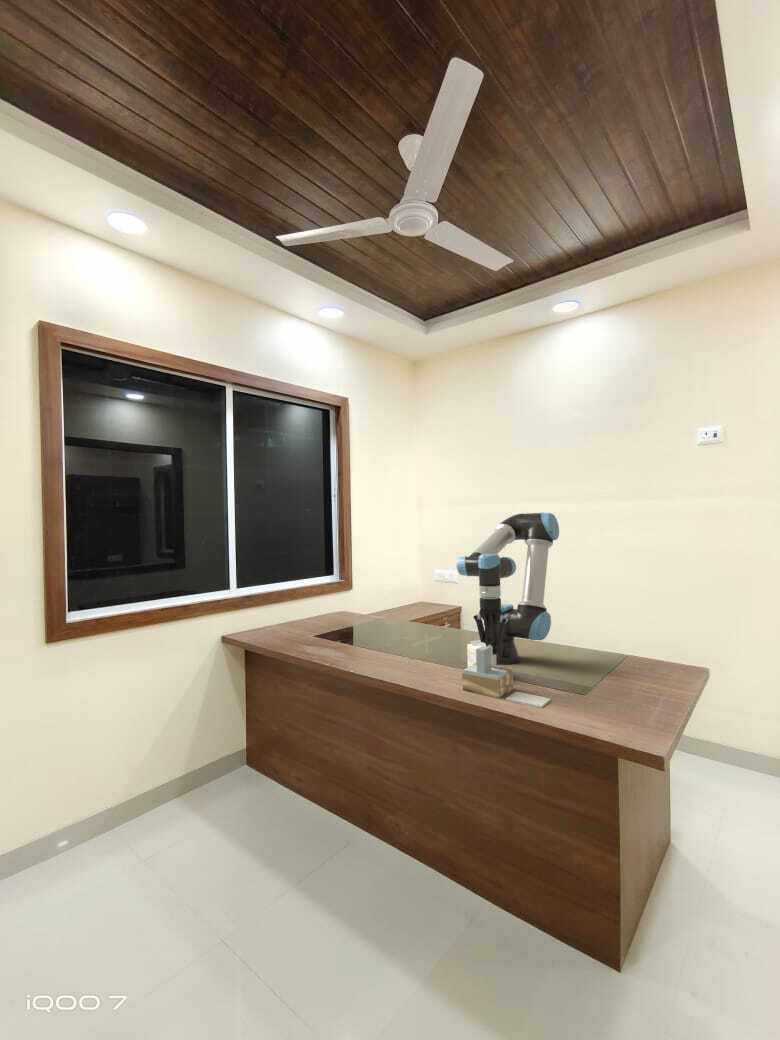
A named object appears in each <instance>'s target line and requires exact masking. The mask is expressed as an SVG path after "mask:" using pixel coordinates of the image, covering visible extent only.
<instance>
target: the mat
mask: <svg viewBox="0 0 780 1040" xmlns="http://www.w3.org/2000/svg"><path fill="white" fill-rule="evenodd" d="M505 700H506V701H509V702H513V703H516V704H517V703H518V704H523V705H526V706H530V707H535V708H539V709H542V708H543V707H545V706H546V705H547V704H549V702H551V698H549V697H544V696H542V695H541V696H540V695H535V694H530V693H526V692H521V691H516V690H515V692H513V693H511V694H510V695H509V696H507V697H505Z"/></svg>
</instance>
